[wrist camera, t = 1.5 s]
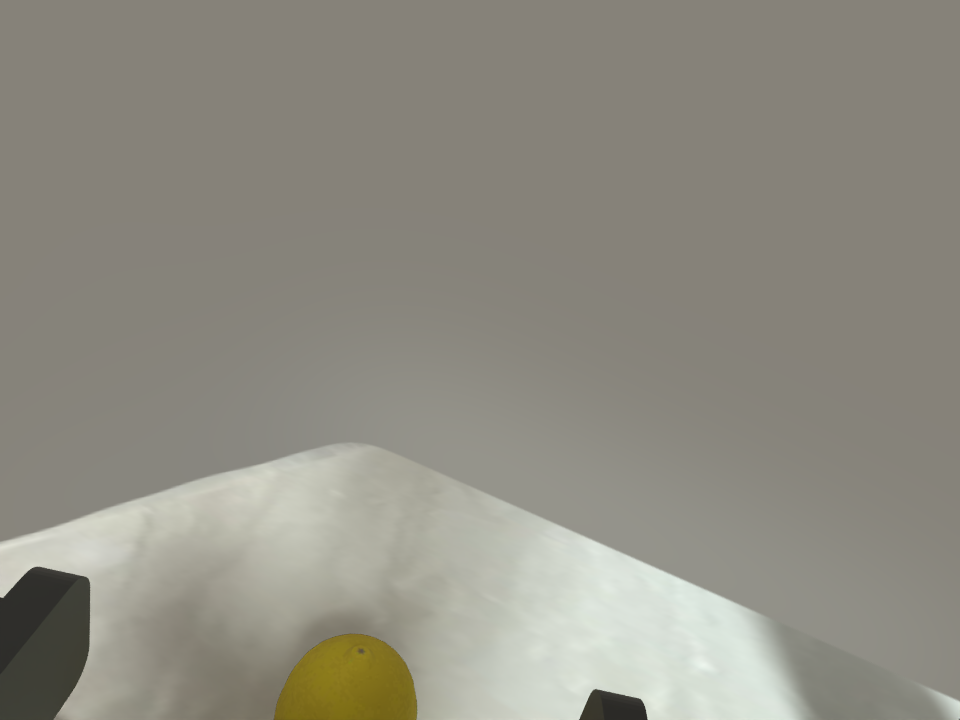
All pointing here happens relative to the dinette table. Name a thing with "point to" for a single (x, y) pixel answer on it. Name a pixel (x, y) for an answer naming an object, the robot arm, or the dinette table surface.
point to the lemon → (349, 683)
